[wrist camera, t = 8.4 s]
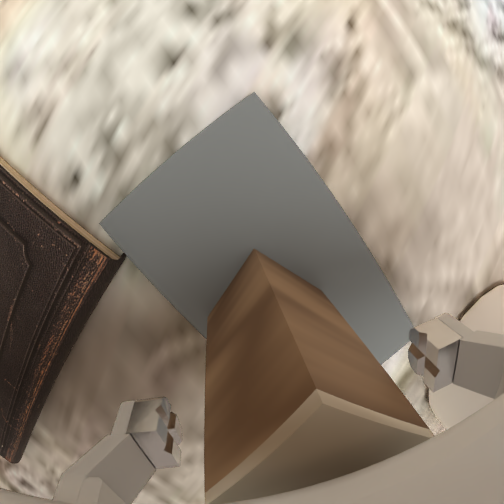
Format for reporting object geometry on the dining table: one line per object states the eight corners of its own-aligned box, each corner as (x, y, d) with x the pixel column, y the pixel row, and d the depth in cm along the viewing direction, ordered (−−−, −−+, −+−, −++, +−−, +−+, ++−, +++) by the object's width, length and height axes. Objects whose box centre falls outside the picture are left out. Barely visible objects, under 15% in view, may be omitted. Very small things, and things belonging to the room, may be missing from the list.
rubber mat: (298, 417, 18) (299, 421, 17) (102, 221, 14) (99, 223, 13) (414, 331, 17) (417, 334, 17) (253, 94, 13) (254, 92, 12)
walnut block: (275, 351, 16) (330, 523, 6) (207, 316, 15) (204, 506, 5) (321, 290, 15) (436, 439, 6) (254, 248, 14) (323, 403, 5)
